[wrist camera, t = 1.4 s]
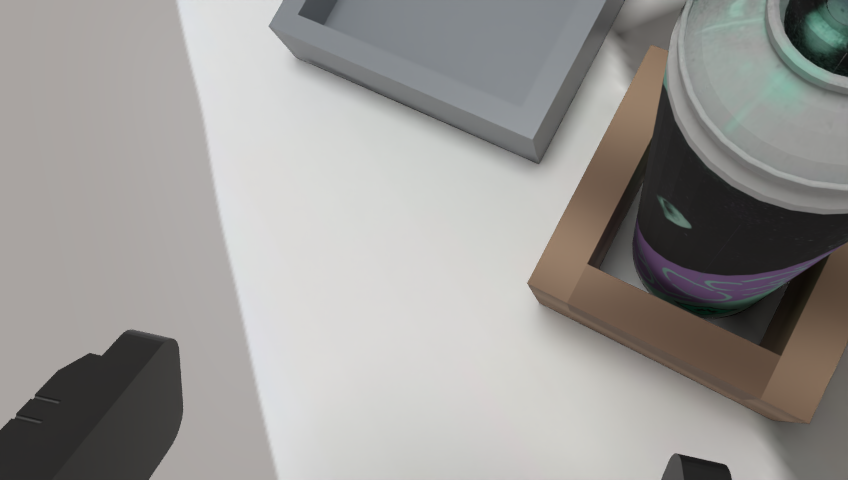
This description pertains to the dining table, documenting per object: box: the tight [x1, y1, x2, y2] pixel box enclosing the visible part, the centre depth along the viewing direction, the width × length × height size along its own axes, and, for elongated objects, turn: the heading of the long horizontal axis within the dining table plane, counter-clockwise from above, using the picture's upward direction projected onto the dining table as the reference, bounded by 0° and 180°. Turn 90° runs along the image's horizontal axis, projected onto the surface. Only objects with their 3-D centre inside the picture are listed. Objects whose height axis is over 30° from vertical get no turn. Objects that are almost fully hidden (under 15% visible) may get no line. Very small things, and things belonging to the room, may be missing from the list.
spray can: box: [632, 0, 848, 318], centre depth 19 cm, size 6×6×20 cm
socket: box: [527, 45, 848, 424], centre depth 26 cm, size 10×10×5 cm
